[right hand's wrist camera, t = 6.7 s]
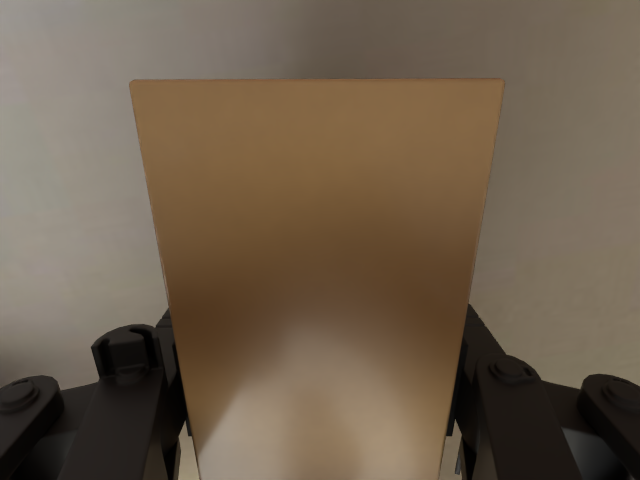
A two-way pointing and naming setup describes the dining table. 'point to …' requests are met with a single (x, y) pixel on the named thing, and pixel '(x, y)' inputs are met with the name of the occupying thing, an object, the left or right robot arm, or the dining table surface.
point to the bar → (318, 264)
